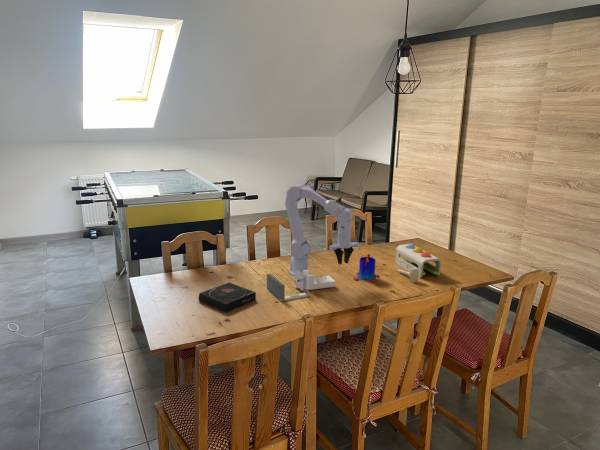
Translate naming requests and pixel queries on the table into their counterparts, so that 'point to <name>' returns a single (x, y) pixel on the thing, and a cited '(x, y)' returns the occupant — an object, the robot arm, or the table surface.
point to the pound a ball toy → (416, 261)
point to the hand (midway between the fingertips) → (342, 263)
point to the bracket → (318, 281)
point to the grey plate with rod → (280, 289)
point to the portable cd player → (227, 297)
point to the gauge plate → (300, 280)
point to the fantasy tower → (367, 270)
